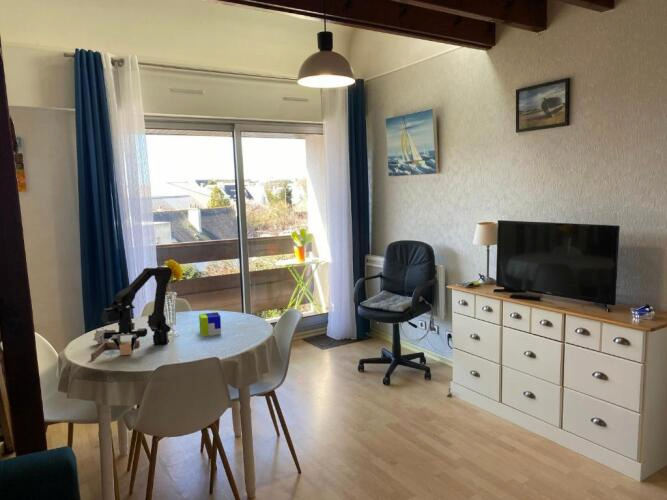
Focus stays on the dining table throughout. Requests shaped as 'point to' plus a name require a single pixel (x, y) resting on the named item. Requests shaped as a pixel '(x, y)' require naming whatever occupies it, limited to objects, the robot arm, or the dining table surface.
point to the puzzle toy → (210, 324)
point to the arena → (106, 346)
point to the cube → (126, 348)
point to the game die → (100, 336)
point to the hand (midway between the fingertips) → (126, 351)
